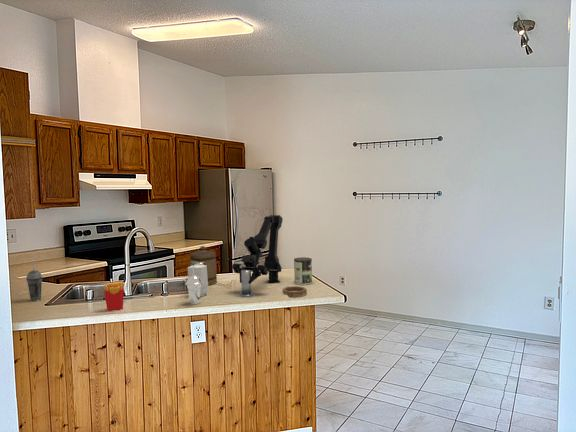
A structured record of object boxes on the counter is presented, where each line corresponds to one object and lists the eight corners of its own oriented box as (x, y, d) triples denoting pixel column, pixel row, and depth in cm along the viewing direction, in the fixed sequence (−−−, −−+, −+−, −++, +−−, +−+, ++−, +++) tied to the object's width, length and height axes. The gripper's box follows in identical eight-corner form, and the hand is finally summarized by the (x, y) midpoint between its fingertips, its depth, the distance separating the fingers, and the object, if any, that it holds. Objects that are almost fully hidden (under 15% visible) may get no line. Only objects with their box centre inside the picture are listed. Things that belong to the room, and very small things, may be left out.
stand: (242, 293, 231) (242, 292, 231) (258, 295, 228) (258, 293, 228) (234, 298, 223) (234, 296, 223) (250, 299, 219) (250, 297, 219)
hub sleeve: (239, 293, 228) (238, 269, 227) (252, 292, 229) (251, 268, 228) (240, 297, 221) (240, 271, 220) (254, 296, 223) (253, 271, 222)
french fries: (105, 311, 204) (103, 284, 202) (105, 309, 208) (104, 282, 206) (126, 309, 207) (124, 282, 205) (126, 306, 211) (124, 280, 209)
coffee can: (313, 281, 258) (312, 257, 257) (310, 285, 248) (310, 260, 247) (296, 280, 260) (295, 257, 259) (292, 284, 250) (292, 260, 249)
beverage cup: (27, 302, 220) (24, 263, 219) (28, 299, 227) (25, 261, 225) (43, 300, 224) (41, 262, 222) (44, 297, 230) (41, 260, 229)
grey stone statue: (187, 301, 219) (185, 261, 218) (205, 300, 220) (204, 261, 218) (184, 305, 211) (183, 265, 209) (203, 305, 212) (202, 264, 210)
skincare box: (208, 294, 232) (207, 265, 230) (201, 297, 226) (200, 267, 224) (195, 292, 235) (194, 264, 234) (188, 295, 229) (187, 266, 228)
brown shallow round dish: (279, 291, 234) (279, 287, 234) (303, 290, 237) (303, 285, 237) (285, 298, 221) (285, 293, 221) (309, 296, 224) (309, 291, 224)
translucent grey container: (186, 283, 256) (184, 246, 254) (206, 279, 267) (204, 243, 265) (202, 287, 246) (200, 249, 244) (222, 282, 257) (221, 245, 256)
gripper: (233, 248, 230) (223, 273, 221) (265, 249, 223) (256, 275, 214) (240, 260, 238) (231, 284, 229) (271, 262, 231) (263, 287, 222)
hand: (245, 282), depth 223 cm, fingers closed on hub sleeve, 5 cm apart
